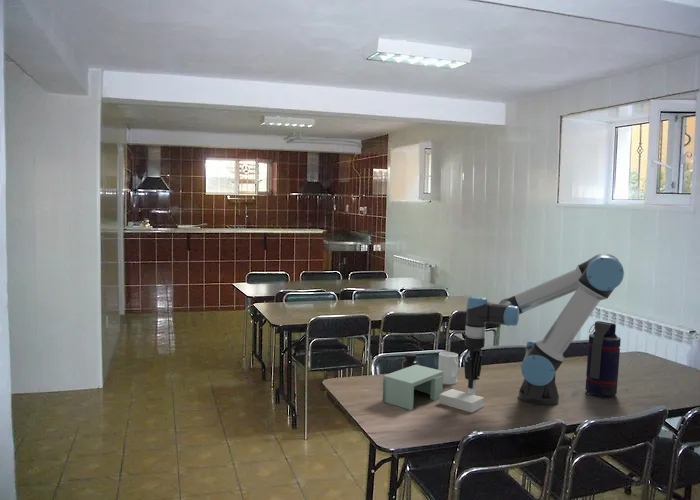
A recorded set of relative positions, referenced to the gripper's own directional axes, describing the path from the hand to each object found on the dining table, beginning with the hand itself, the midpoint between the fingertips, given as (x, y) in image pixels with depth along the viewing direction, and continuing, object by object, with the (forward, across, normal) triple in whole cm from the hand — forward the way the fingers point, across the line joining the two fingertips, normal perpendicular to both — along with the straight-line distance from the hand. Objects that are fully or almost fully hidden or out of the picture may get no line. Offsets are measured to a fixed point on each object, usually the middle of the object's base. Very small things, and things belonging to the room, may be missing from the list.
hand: (471, 395), depth 228 cm
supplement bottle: (+2, 0, -29) cm, 29 cm away
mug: (+2, -12, -17) cm, 21 cm away
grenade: (+2, -45, +34) cm, 56 cm away
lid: (+2, +8, 0) cm, 8 cm away
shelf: (+2, +16, -16) cm, 23 cm away
